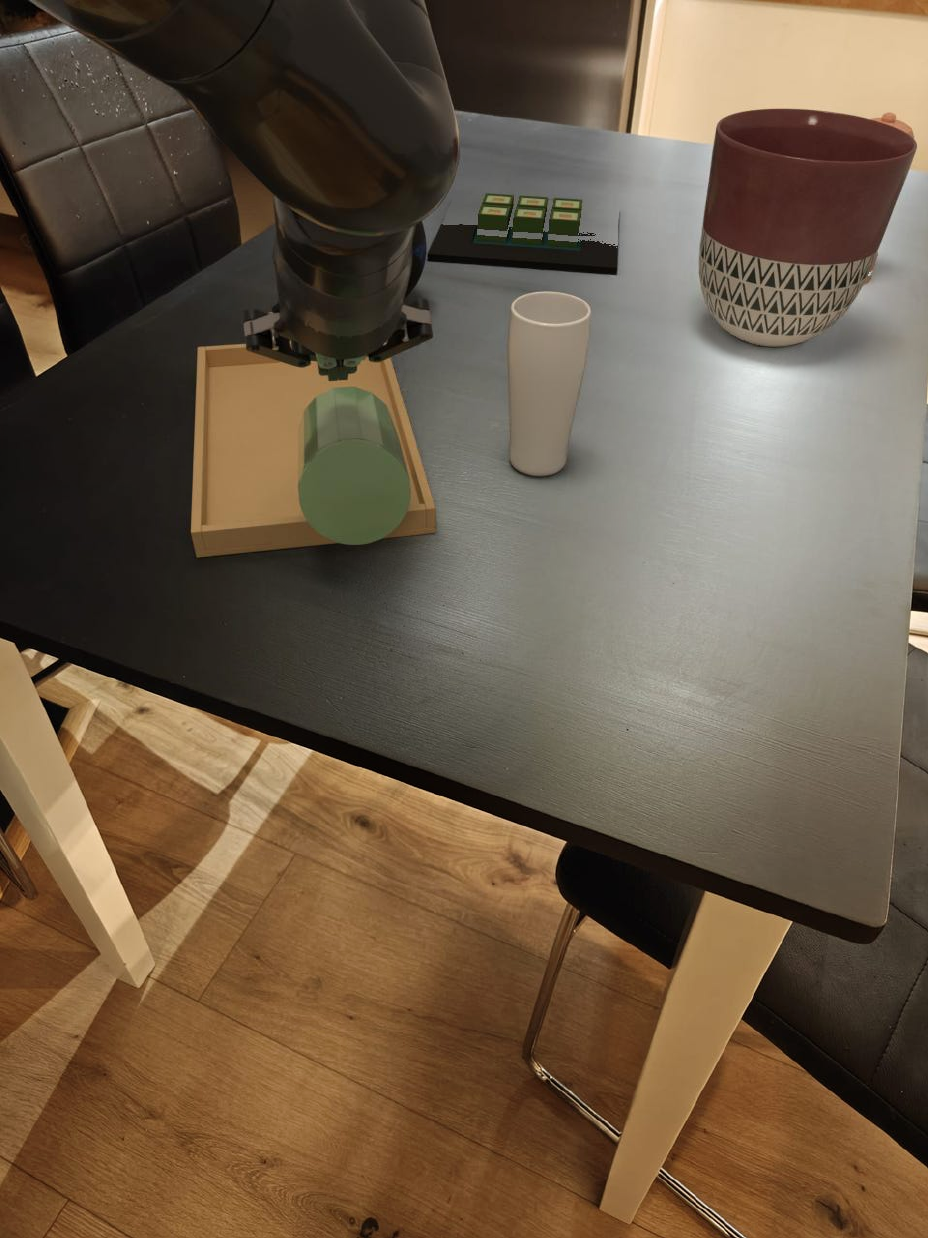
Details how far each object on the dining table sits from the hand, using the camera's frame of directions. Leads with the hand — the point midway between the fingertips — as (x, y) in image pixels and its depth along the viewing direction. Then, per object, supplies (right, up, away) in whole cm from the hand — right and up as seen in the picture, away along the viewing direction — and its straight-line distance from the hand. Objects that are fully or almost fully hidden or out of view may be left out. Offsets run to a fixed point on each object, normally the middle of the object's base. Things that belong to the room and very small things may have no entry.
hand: (336, 367), depth 68 cm
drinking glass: (+16, -5, +16) cm, 23 cm away
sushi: (+19, +35, +60) cm, 72 cm away
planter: (+44, +14, +37) cm, 60 cm away
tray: (-6, -2, +18) cm, 19 cm away
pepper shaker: (+59, +26, +51) cm, 83 cm away
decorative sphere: (-2, +18, +40) cm, 44 cm away
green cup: (+2, -10, -2) cm, 10 cm away
